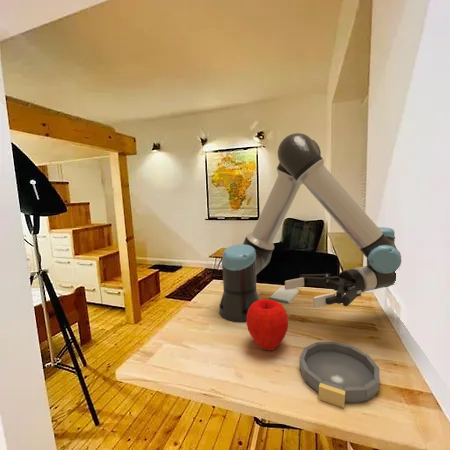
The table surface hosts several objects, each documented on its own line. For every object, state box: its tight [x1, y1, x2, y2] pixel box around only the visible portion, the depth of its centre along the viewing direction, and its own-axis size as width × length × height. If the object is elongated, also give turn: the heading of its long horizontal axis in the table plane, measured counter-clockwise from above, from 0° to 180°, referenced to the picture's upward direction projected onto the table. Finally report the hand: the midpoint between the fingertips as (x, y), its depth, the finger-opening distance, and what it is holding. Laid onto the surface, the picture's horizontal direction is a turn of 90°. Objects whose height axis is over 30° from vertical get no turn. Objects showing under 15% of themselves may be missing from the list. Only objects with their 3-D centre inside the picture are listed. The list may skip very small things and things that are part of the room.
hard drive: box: [268, 286, 300, 305], centre depth 109 cm, size 2×8×12 cm
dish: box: [299, 341, 381, 409], centre depth 63 cm, size 17×18×3 cm
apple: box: [245, 298, 289, 351], centre depth 75 cm, size 12×12×13 cm
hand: (298, 293), depth 77 cm, fingers open, 13 cm apart
